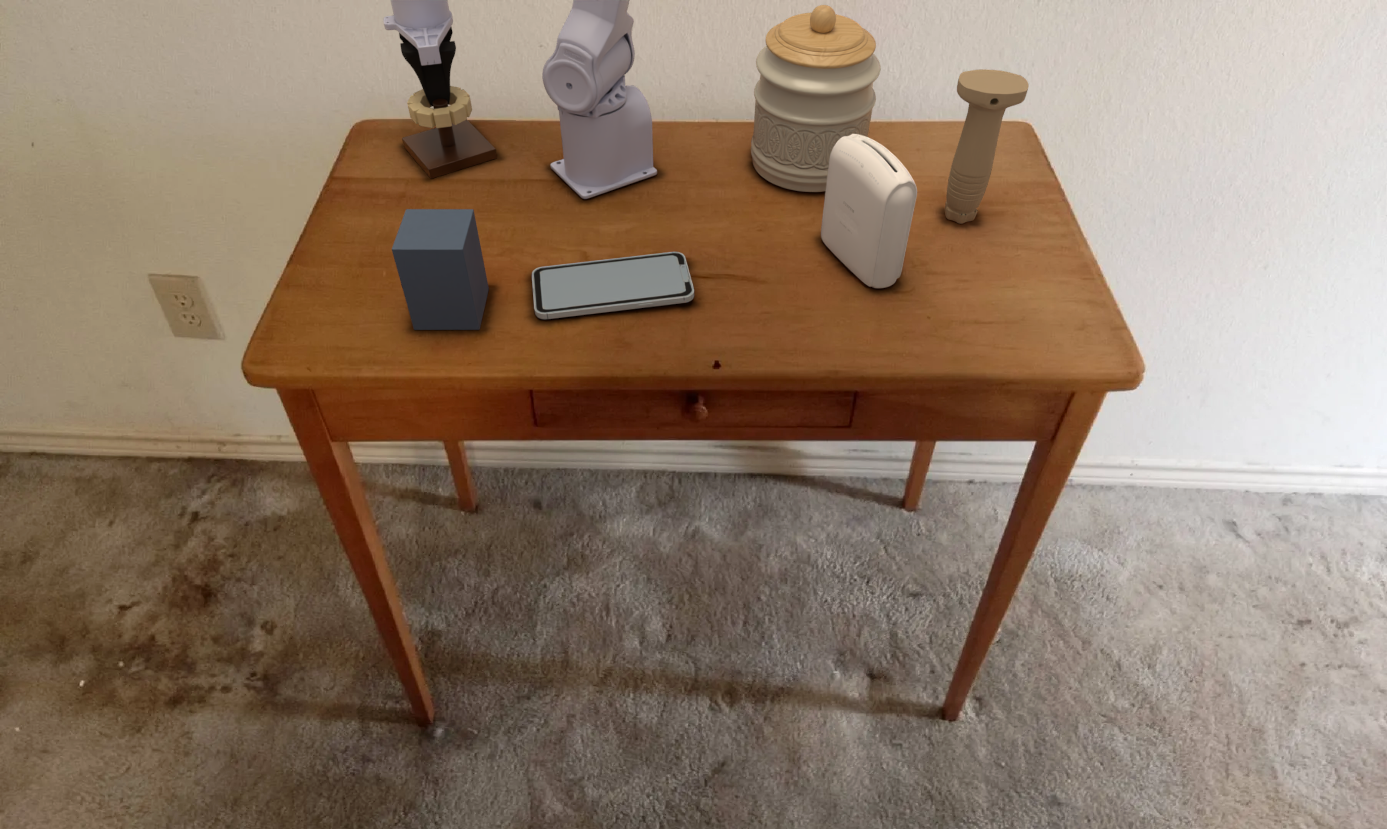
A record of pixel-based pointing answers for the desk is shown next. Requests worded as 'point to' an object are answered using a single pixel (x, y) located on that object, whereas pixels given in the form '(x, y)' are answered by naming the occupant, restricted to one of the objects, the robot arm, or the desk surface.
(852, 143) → the photo printer
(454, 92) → the bracelet
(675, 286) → the smartphone
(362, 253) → the desk surface
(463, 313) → the block
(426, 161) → the stand
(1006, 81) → the handle
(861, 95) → the jar
